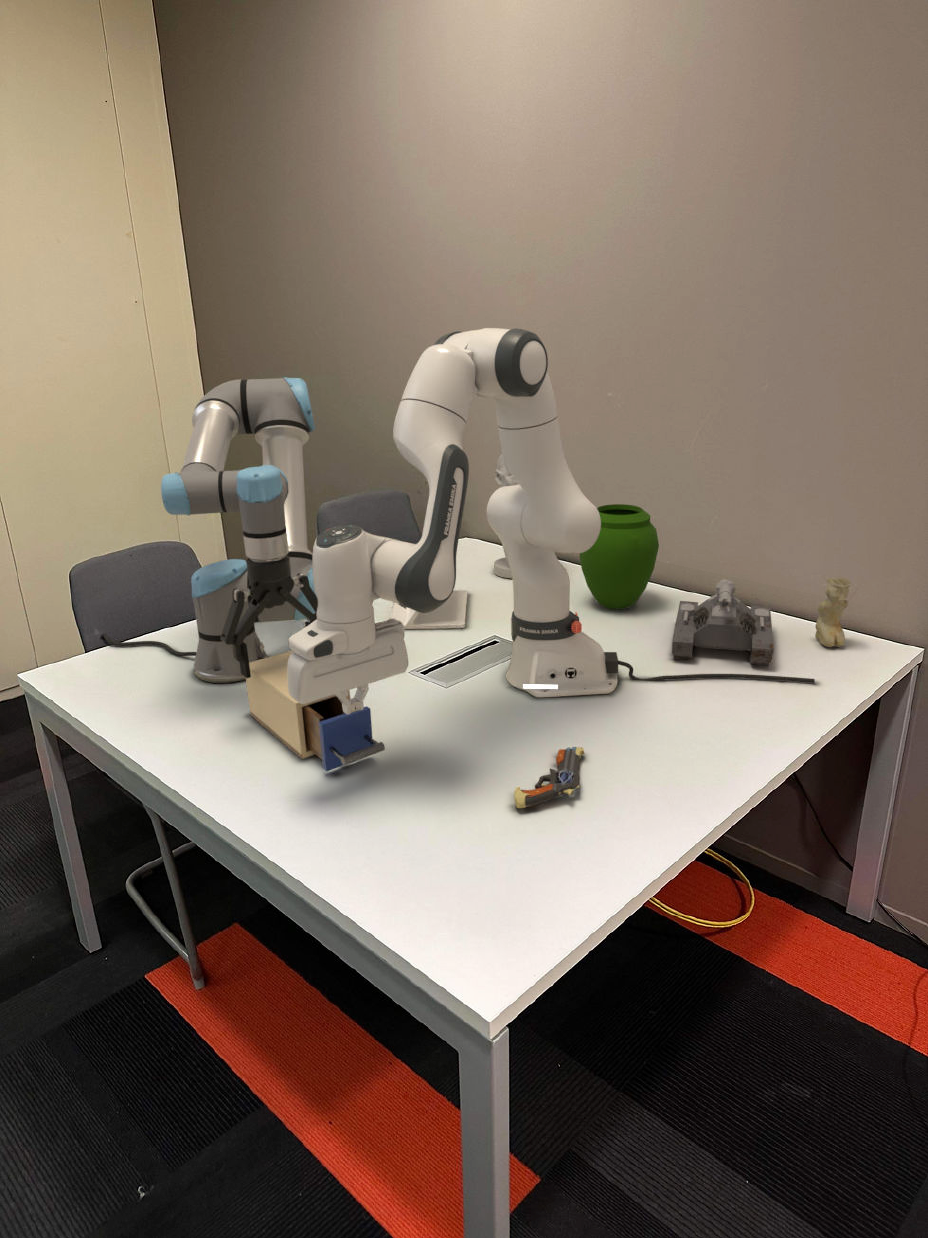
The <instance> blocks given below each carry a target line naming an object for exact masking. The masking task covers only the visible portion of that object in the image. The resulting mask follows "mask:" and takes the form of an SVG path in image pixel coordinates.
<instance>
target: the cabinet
mask: <svg viewBox="0 0 928 1238" xmlns="http://www.w3.org/2000/svg"><path fill="white" fill-rule="evenodd" d="M293 652H294V651H293V650H290V651H285V652H283V653H279V654H275V655H272V656H267V658H264V659H260V660H257V661H253V662H250V663H249V666H250V674H251V677H250V678H246V679H245V682H246V683H245V684H246V690H247V698H248V707H249V715H250V717H252V718H253V719H254V720H255V721H256V722H257V723H259V725H261V726H262V727H263V728H264V729H266V730H267V731H268V732H269V733H270V734H271V735H273V736H274V737H275V739H277V740H279V741H280V743H282V744H283V745H284V746H286V747H287V748H288V749H289V750H290V752H292V753H294V754H295V755H296V756H297V757H298V758H299V759H300V760H304V759H307V758H309V757H312V756H316V754H315V753H313V752H312V751H311V750H310V749H309V748H307V747H306V742H305V733H304V723H303V714H302V707H304V706H307V705H310V704H313V703H316V702H319V701H323V700H326V699H329V698H332V697H335V696H336V695H332V696H328V697H325V698H322V699H319V700H316V701H313V702H310V703H307V704H300V703H299V702H297V701H296V700H294V699H293V698H292V697H291V696H290V694H289V692H288V682H287V665H288V660H289V657H290V655H291V654H292V653H293ZM350 690H351V689H350ZM350 690H348V694H349V695H348V696H345V697H346V698H347V700H349V699H351V691H350Z"/></svg>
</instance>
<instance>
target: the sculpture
mask: <svg viewBox="0 0 928 1238" xmlns="http://www.w3.org/2000/svg"><path fill="white" fill-rule="evenodd" d="M826 581H827V586H826V588H825V590H824V593H825V595H826V596H827V598H826V600H824V601H822V602H821V603H820V604H819V605H818V606H817V609H816V610H817V612H818V614H819V616H818V617H817V619H816V623H815V630H816V631H815V634H814V635H815V639H817V640H819V642H820V643H821V644H822V645H823V646H825V647H827V648H832V647H834V646H835V647H843V646H844V645H845V643H846V642H845V641H846V636H845V632H844V630H843V626H842V624H841V622H840V621H841V617H842V615H843V612H844V610H845V609H846V608H847V606H848V604H849V603H848V602H849V601H847V598H848V597H849V592H850V586H851V585H852V582H850V580H848V579H847V578H845V577H841V576H840V577H835V578H831V577H827V578H826Z"/></svg>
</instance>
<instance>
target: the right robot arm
mask: <svg viewBox="0 0 928 1238" xmlns="http://www.w3.org/2000/svg"><path fill="white" fill-rule="evenodd" d="M548 367H549V359H548V352H547V349H546V347H545V345H544V343H543V341H542V339H541V338H540V337H539V336H538V335H537V334H536V333H535V332H533V331H530V330H527V329H524V328H523V329H522V328H518V327H517V328H511V329H509V328H501V327H499V328H498V327H484V328H481V329H474V330H467V331H460V330H459V331H453V332H449V333H446V334H444V335H443V336H441V337H439V338H438V339H437V340H436V341H435V342H434V344H432V345H431V346H428V347H427V348H426V349H425V350H423V352H422V354H421V355H420V356H419V359H418V360H417V362H416V364H415V366H414V368H413V370H412V372H411V374H410V376H409V378H408V380H407V383H406V384H405V385H406V386H405V388H404V390H403V393H402V396H401V399H400V402H399V404H398V407H397V411H396V414H395V418H394V422H393V429H392V430H393V431H392V438H393V441H394V443H395V446H396V449H397V450H398V453H399V454H400V455H401V457H402V458H403V459H404V460H405V461H406V462H407V463H409V464H410V465H411V466H413V467H414V468H415V469H416V470H418V471H419V472H420V473H422V475H423V476H424V478H425V479H426V481H427V484H428V488H429V489H428V491H429V492H428V500H427V506H426V511H425V517H424V522H423V528H422V534H421V538H420V540H419V541H418V542H417V543H411V542H407V541H402V540H400V539H396V538H391V537H386V536H381V535H375V534H372V533H370V532H367V531H365V530H364V529H363V528H362V527H360V526H358V525H353V524H343V525H337V526H332V527H329V528H327V529H325V530H323V531H322V532H320V534H318V535H317V536H316V538H315V541H314V543H313V547H312V548H313V549H312V553H313V557H312V569H313V583H314V591H315V593H316V596H317V599H318V607H317V613H316V615H317V619H316V620H315V621H314V622H312V623H311V624H310V625H308V626H307V627H305V626H304V628H302V629H300V630H299V631H297V632H295V633H294V634H292V635H291V636H290V637H289V638H288V647H289V648H290V649H291V651H294V652H293V653H292V654H291V655H290V657H289V660H288V665H287V682H288V692H289V694H290V696H291V697H292V698H293V699H294V700H296V701H297V702H299V703H300V704H307V703H310V702H313V701H316V700H319V699H322V698H325V697H328V696H332V695H336V696H337V697H338V699H339V700H340V701H341V702H342V708H343V712H344V713H345V714H347V715H348V714H351V713H354V712H357V711H360V710H363V709H364V707H365V706H364V701H365V698H366V696H367V695H368V692H369V684H372V683H376V682H379V681H381V680H385V679H388V678H391V677H395V676H397V675H398V676H399V675H400V674H404V673H405V672H406V671H407V669H408V667H409V656H408V655H409V654H408V650H407V644H406V641H405V629H404V625H403V624H402V622H401V621H398V620H396V619H389V618H388V619H387V620H383V621H377V622H376V620H375V608H374V605H373V603H374V601H376V600H378V599H382V600H385V601H388V602H392V603H394V602H395V603H398V604H399V605H400V606H402V607H404V608H406V607H408V608H410V609H412V610H415V611H417V612H420V613H428V612H431V611H433V610H435V609H437V608H438V607H440V606H441V605H442V604H444V603H445V602H446V601H447V600H448V598H449V597H450V596H451V594H452V592H453V591H455V587H456V583H457V582H456V581H457V552H458V547H459V540H460V535H461V534H460V533H461V527H462V521H463V516H464V510H465V504H466V498H467V493H468V492H467V490H468V483H469V474H470V463H469V458H468V456H467V455H468V454H467V453H466V452H465V451H464V449H463V448H464V447H463V441H464V440H463V438H464V433H465V429H466V425H467V422H468V417H469V414H470V410H471V406H472V401H473V398H474V397H476V398H491V397H493V399H494V407H495V408H494V410H495V416H496V417H495V418H496V425H497V432H498V438H499V444H500V449H501V454H502V456H503V462H504V465H505V467H506V469H507V470H508V471H509V473H510V474H511V475H513V476H514V477H515V479H516V480H517V481H518V483H519V484H520V485H512V486H504V487H502V486H500V487H499V488H497V489H496V490H495V491H494V492H493V493H492V495H490V497H489V500H488V503H487V506H486V512H487V514H486V520H487V523H488V525H489V527H490V528H491V529H492V530H493V532H494V533H495V534H496V536H497V537H498V539H499V540H500V542H502V543H501V546H502V545H503V546H502V548H503V547H504V549H505V552H506V555H507V558H508V561H509V564H510V568H511V572H512V578H511V579H512V592H513V593H512V594H513V596H512V597H513V611H512V612H511V618H510V635H511V640H512V645H511V646H512V647H511V655H510V660H509V665H508V669H507V672H506V675H505V678H506V681H507V683H509V684H510V685H511V686H513V687H515V688H517V689H519V690H522V691H525V692H527V693H529V694H530V695H531V696H533V697H535V698H556V697H572V696H573V697H574V696H588V695H589V696H590V695H591V696H592V695H607V694H611V693H612V692H613V691H615V690H616V688H617V686H618V674H619V666H621V667H625V668H627V669H628V670H629V671H628V677H629V678H630V679H631V680H632V681H638V682H640V681H641V682H659V681H665V680H666V681H667V680H670V681H671V680H689V679H691V680H692V679H753V680H767V681H768V680H769V681H782V682H783V681H784V682H797V683H811V684H815V681H816V680H815V678H810V677H796V676H782V675H767V674H766V675H765V674H751V673H749V674H748V673H694V674H692V673H691V674H676V675H675V674H674V675H673V674H672V675H659V676H653V677H648V678H639V677H637V676H635V675H634V667H633V665H631V664H630V663H628V662H626V661H622V660H619V658H618V653H617V652H616V651H604V648H603V647H602V645H601V644H600V643H599V642H598V641H596V640H595V639H593V638H591V637H590V636H589V635H587V634H586V633H585V632H583V631H582V630H583V626H582V625H583V624H582V622H581V621H580V616H579V615H578V612H577V611H575V613H574V612H573V611H571V610H570V590H571V589H570V586H571V585H570V584H571V579H570V576H569V575H570V574H569V572H568V571H567V569H566V568H565V567H564V565H563V564H562V563H561V562H560V561H559V559H558V557H557V555H556V553H559V554H579V553H583V552H585V551H587V550H589V549H590V548H591V547H592V546H593V545H594V543H595V542H596V540H597V538H598V536H599V533H600V529H601V518H600V514H599V511H598V510H597V508H598V507H596V505H594V504H593V502H591V501H590V500H589V499H588V498H587V497H586V496H585V494H584V493H583V491H582V490H581V488H580V486H579V485H578V483H577V481H576V480H575V478H574V476H573V474H572V471H571V469H570V466H569V465H568V462H567V459H566V455H565V452H564V447H563V442H562V441H563V440H562V435H561V428H560V421H559V415H558V407H557V402H556V397H555V393H554V388H553V385H552V382H551V378H550V375H549V372H548ZM504 549H503V550H504ZM396 623H397V624H396ZM353 689H354V690H355V689H356V690H355V693H354V696H353V697H352V698H350V699H349V700H347V698H346V697H345V696H348V695H349V694H348V690H353Z"/></svg>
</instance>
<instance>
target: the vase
mask: <svg viewBox="0 0 928 1238" xmlns="http://www.w3.org/2000/svg"><path fill="white" fill-rule="evenodd" d="M596 508H597V510H598V511H599V514H600V518H601V529H600V533H599V536H598V538H597V540H596V542H595V543H594V545H593V546H592V547H591V548H590V549H589V550H587V551H585V552H583V553H578V554H579V562H580V569H581V571H582V574H583V577H584V580H585V583H586V585H587V588H588V590H589V591H590V594H592V597H593V598H594V600H595V601H596V602H597V603H598V604H599V605H600V606H602V607H604V608H606V609H609V610H625V609H628V608H630V607H632V606H634V604H636V602H638V601H639V599H640V597H641V596H642V595H643V593H644V592H645V590H646V588H647V586H648V584H649V581H650V579H651V577H652V574H653V572H654V570H655V566H656V562H657V557H658V552H659V548H660V544H659V543H660V542H659V537H658V531H657V528H656V527H655V526H654V524H653V523H652V522H651V515H650V514H649V512H647V511H645V510H644V509H643V508H642V507H641V506H638V505H633V504H622V503H621V504H619V503H616V504H615V503H614V504H604V505H601V506H598V507H596Z"/></svg>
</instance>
